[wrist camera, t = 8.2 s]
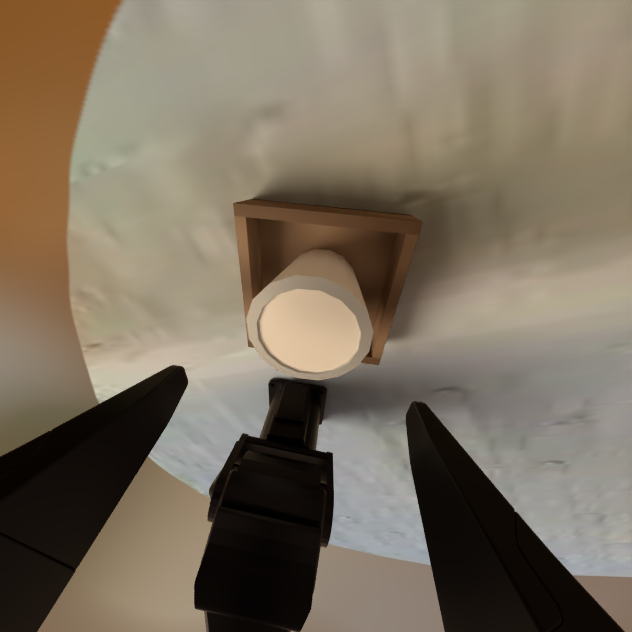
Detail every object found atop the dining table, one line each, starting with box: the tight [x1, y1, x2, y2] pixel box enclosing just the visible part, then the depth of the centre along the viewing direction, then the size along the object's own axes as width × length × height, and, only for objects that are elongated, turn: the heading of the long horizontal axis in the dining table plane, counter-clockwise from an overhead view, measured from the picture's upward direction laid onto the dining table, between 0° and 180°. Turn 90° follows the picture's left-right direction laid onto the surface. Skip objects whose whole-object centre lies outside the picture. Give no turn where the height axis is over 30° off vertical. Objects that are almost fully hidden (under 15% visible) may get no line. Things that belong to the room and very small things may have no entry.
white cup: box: [246, 249, 373, 380], centre depth 15 cm, size 7×7×7 cm
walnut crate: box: [233, 199, 423, 365], centre depth 17 cm, size 11×11×3 cm
